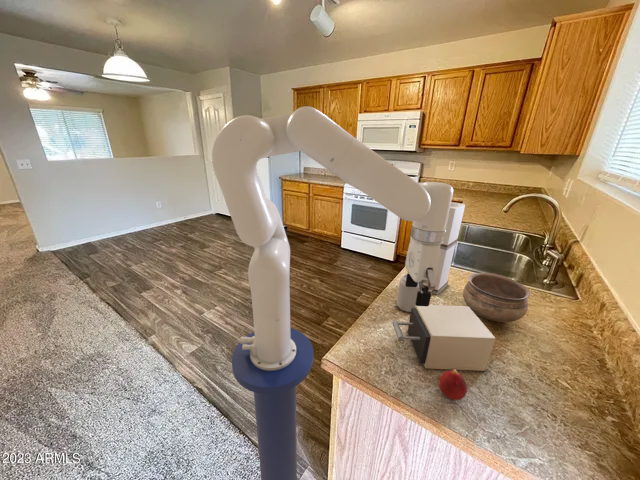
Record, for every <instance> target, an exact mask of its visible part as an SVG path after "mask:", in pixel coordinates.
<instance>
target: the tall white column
mask: <svg viewBox="0 0 640 480" xmlns="http://www.w3.org/2000/svg"><path fill="white" fill-rule="evenodd" d="M465 208H466V204H465V203H459V202H453V201H451V206H450V210H449V215H448V220H447V225H446V229H445V235H444V240H443V243H442V244H440V256H439V264H438V270H437V275H436V279H435V282H436V287H435V289H434V291H433V292H432V294H434V295H439V294H440V293H441V292H442V291H443V290H444V289H445V288H446V287H447V286H448V283H449V276H450V271H451V266H452V261H453V258H454V253H455V249H456V247H457V244H458V239H459V234H460V230H461V225H462V221H463V216H464V213H465ZM423 280H427V278H423ZM427 285H428V283H423V288H424V287H425V286H427Z"/></svg>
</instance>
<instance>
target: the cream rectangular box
mask: <svg viewBox="0 0 640 480" xmlns="http://www.w3.org/2000/svg"><path fill="white" fill-rule="evenodd" d="M415 308H416V310H417V312H418V314H419V316H420V317H421V319H422V321H423V322H424V324H425V326H426V328H427V330H428V332H429V334H430V336H431V339H430V343H429V348H428V352H427V357H426V362H425V364H423V367H424V368H425V369H432V370H434V369H435V370H453V369H455V370H456V371H476V372H477V371H481V372H486V369H487V367H488V364H489V360H490V357H491V354H492V351H493V348H494V344H495V342H496V337H495V336H494V335H493V333H492V332H491V331H490V330H489V329H488V327H487V326H486V325H485V324H484V323H483V322H482V320H481V319H480V318H479V317H478V316H477V314H476V313H475V312H474V311H472V310H471V309H470V308H469V306H467V305H449V304H447V305H446V304H445V305H444V304H429V306H416V304H415Z"/></svg>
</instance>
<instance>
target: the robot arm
mask: <svg viewBox="0 0 640 480" xmlns="http://www.w3.org/2000/svg"><path fill="white" fill-rule="evenodd" d="M296 152H297V153H298V152H302V153H304V154H305V156H307V157H309V158H310V159H312V160H313V161H315V162H316V163H317V164H319V165H320V166H322V167H323V168H325V169H326V170H327V171H329V172H331V173H332V174H333V175H335V176H336V177H337V178H339V179H340V180H342V181H343V182H345V183H346V184H347V185H349V186H351V187H353V188H355V189H357V190H359V191H360V192H362V193H363V194H365V195H366V196H368V197H369V198H371V199H372V200H374V201H375V202H376V203H378V204H379V205H381V206H383V207H384V208H385V209H387V210H388V211H389V212H391V213H393V214H394V215H395V216H397V217H398V218H400V219H401V220H403V221H406V222H412V225H411V230H410V231H411V232H410V240H409V243H408V247H407V252H406V258H405V262H404V267H405V270H406V272H407V273H406V275H407V278H406V284H405V285H406V287H417V285H418V282H419V291H418V292H417V298H416V303H415V304H416V306H429V305H430V303H431V297H432V295H433V293H432V292H433V291H434V289H435V287H436V282H435V279H436V275H437V270H438V264H439V256H440V244H442V243H443V240H444V235H445V229H446V225H447V220H448V215H449V210H450V206H451V202H453V201H452V200H453V196H454V195H453V194H454V187H453V186H452V185H451V184H449V183H446V182H440V181H425V182H419V181H418V182H417V181H415V180H414V179H413V178H412V177H410V176H409V175H407V174H406V173H405V172H404V171H402V170H400V169H399V168H398V167H397V166H395V165H394V164H392V163H390V162H389V161H388V160H386V159H385V158H383V157H382V156H381V155H380V154H378V153H377V152H375V151H374V150H373V149H371V148H370V147H368V146H367V145H366V144H364V143H363V142H362V141H360V140H359V139H357V138H356V137H355V136H353V135H352V134H351V133H349V132H348V131H347V130H346V129H344V128H343V127H341V125H339V124H338V123H336V122H335V121H333V120H332V119H331V118H329V117H328V116H327V115H326V114H324V112H321V111H320V110H318V109H316V108H315V107H313V106H308V105H307V106H306V105H305V106H304V105H303V106H301V107H299V108H297V109H295V110H294V111H293V112H292V113H287V114H282V115H276V116H275V115H274V116H268V117H262V118H259V117H258V116H254V115H250V114H243V115H240V116H236V117H234V118H233V119H231V120H229V121H228V122H227V123H226V124H225V125H224V126H223V127H222V128H221V129H220V131H219V132H218V134H217V136H216V137H215V140H214V142H213V145H212V150H211V163H212V167H213V171H214V175H215V177H216V180H217V183H218V185H219V188H220V191H221V194H222V196H223V199H224V202H225V205H226V207H227V210H228V213H229V215H230V218H231V221H232V223H233V227H234V230H235V232H236V234H237V236H238V238H239V239H240V241H241V242H242V243H244V244H245V245H246V246H250V247H253V249H254V251H253V253H252V256H251V257H250V260H249V264H248V269H247V278H248V284H249V289H250V296H251V307H252V316H253V317H252V319H253V330H254V331H253V332H254V333H255V336H253V337H246V336H241V337H240V340H239V343H240V344H243V346H242V350H251V351H250V358H251V361H252V363H253V364H254V365H255V366H256V367H257V368H259V369H262V370H266V371H274V370H279V369H282V368H284V367H286V366H288V365H289V364H290V363H291V362H292V361H293V360H294V358H295V356H296V345H295V343H294V341H293V340H292V339H291V336H290V328H291V289H290V288H291V287H290V278H291V277H290V276H291V275H290V273H291V246H290V242H289V240H288V236H287V233H286V230H285V227H284V224H283V221H282V218H281V214H280V212H279V209H278V207H277V206H276V204H275V203H274V202H273V201H272V200H270V199H268V198H267V197H266V194H265V191H264V188H263V187H264V186H263V184H262V181H261V179H260V176H259V174H258V169H257V166H258V165H257V164H258V162H259V161H260V160H261V159H264V158H269V157H273V156H279V155H286V154H291V153H296ZM423 278H427V280H423ZM423 283H428V285H427V286H425V287H424V288H423ZM246 344H251V345H246Z"/></svg>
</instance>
